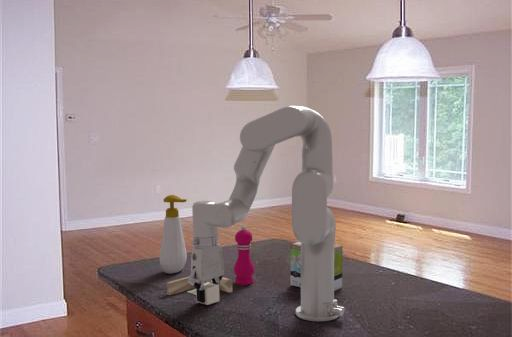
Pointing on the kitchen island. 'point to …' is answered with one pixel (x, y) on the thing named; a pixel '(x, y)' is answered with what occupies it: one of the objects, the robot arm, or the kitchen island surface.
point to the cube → (210, 293)
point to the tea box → (296, 265)
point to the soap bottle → (172, 239)
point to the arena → (183, 285)
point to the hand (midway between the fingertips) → (208, 299)
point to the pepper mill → (244, 258)
